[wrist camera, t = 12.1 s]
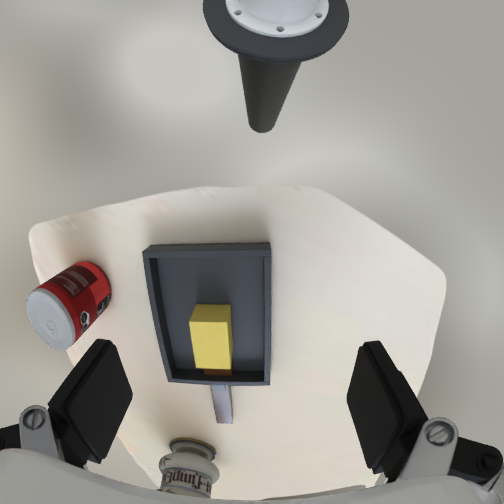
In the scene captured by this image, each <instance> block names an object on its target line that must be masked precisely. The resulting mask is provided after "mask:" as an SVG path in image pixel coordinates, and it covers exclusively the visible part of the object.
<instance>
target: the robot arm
mask: <svg viewBox="0 0 504 504" xmlns="http://www.w3.org/2000/svg"><path fill="white" fill-rule="evenodd" d="M226 6H227V10H228V12H229V14H230V16H231V17H232V18H233V19H234V20H235V21H236V22H237V23H238V24H239V25H241V26H242V27H244V28H246V29H248V30H250V31H252V32H254V33H258V34H261V35H265V36H270V37H282V38H283V37H294V36H299V35H303V34H306V33H309V32H311V31H313V30H314V29H316V28H317V27H318V26H320V25H321V24H322V23H323V21H324V19H325V18H326V15H327V13H328V8H329V3H328V0H226ZM279 31H281V32H279ZM132 397H133V393H132V389H131V387H130V384H129V382H128V379H127V377H126V374H125V371H124V368H123V366H122V363H121V360H120V357H119V354H118V351H117V348H116V346H115V345H114V344H113V343H112V342H111V341H110V340H105V339H96V340H95V342H94V343H93V344H92V345H91V347H90V348H89V349H88V350H87V352H86V353H85V354H84V355H83V357H82V358H81V359H80V361H79V362H78V363H77V365H76V366H75V367H74V368H73V370H72V371H71V372H70V374H69V375H68V376H67V378H66V379H65V380H64V382H63V383H62V385H61V386H60V387H59V389H58V390H57V391H56V393H55V394H54V396H53V397H52V398H51V400H50V401H49V403H48V406H49V408H48V410H47V409H46V408H45V407H43V406H40V405H33V406H30V407H28V408H26V409H25V410H24V411H23V412H22V413H21V416H20V418H19V424H16V425H12V426H8V427H5V428H1V429H0V504H504V463H503V457H502V454H501V453H500V451H499V450H498V449H497V448H495V447H493V446H489V445H485V444H482V443H478V442H475V441H471V440H468V439H465V438H461V437H458V429H457V427H456V425H455V424H454V423H453V422H452V421H450V420H449V419H446V418H442V417H436V418H432V419H428V417H427V416H426V414H425V412H424V410H423V408H422V406H421V405H420V403H419V401H418V399H417V398H416V396H415V394H414V392H413V391H412V389H411V387H410V386H409V384H408V382H407V380H406V379H405V377H404V375H403V374H402V373H401V371H399V370H397V368H396V366H395V365H394V363H393V361H392V360H391V358H390V356H389V355H388V353H387V351H386V350H385V348H384V347H383V345H382V343H381V342H380V341H370V342H365V343H364V344H363V346H360V347H359V350H358V354H357V358H356V363H355V367H354V371H353V374H352V378H351V382H350V386H349V389H348V393H347V404H348V407H349V410H350V413H351V416H352V419H353V422H354V425H355V429H356V432H357V435H358V438H359V441H360V445H361V448H362V451H363V454H364V458H365V461H366V465H367V467H368V468H369V469H371V468H372V470H373V474H378V473H381V472H384V474H385V477H386V481H385V482H384V484H383V485H378V486H374V487H370V488H366V489H361V490H356V491H351V492H346V493H340V494H333V495H327V496H320V497H312V498H303V499H290V500H274V501H273V500H270V501H242V500H221V499H209V498H200V497H192V496H184V495H178V494H172V493H167V492H161V491H156V490H152V489H147V488H142V487H139V486H135V485H131V484H127V483H124V482H120V481H117V480H113V479H110V478H107V477H104V476H101V475H98V474H95V473H92V472H90V471H89V470H88V467H87V465H86V463H87V460H89V461H92V462H95V463H98V464H100V463H101V461H102V459H104V458H105V457H106V456H107V454H108V452H109V449H110V447H111V445H112V442H113V440H114V438H115V436H116V433H117V431H118V429H119V426H120V424H121V422H122V420H123V418H124V415H125V413H126V411H127V409H128V407H129V405H130V402H131V400H132Z"/></svg>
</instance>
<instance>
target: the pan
mask: <svg viewBox="0 0 504 504" xmlns="http://www.w3.org/2000/svg"><path fill="white" fill-rule="evenodd" d="M142 254H143V262H144V269H145V275H146V282H147V288H148V293H149V299H150V305H151V310H152V315H153V320H154V325H155V330H156V334H157V339H158V343H159V348H160V352H161V356H162V360H163V364H164V368H165V372H166V376H167V379H168V382H176V383H188V384H204V385H231V386H263V385H270V358H271V246H270V242H261V243H210V244H168V245H150V246H149V247H148V248H147V249H145V250H144V251H143V252H142ZM196 304H208V305H230V306H231V323H232V339H233V354H232V368H233V372H232V376H230V375H205V374H204V368H196V364H195V358H194V352H193V345H192V339H191V332H190V325H189V320H190V318H191V316H192V313H193V311H194V309H195V306H196Z"/></svg>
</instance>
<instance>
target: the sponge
mask: <svg viewBox="0 0 504 504" xmlns="http://www.w3.org/2000/svg"><path fill="white" fill-rule="evenodd" d="M189 325H190V332H191V339H192V345H193V352H194V358H195V364H196V368H209V369H231V363H232V354H233V339H232V323H231V306H230V305H208V304H196V306H195V309H194V311H193V313H192V316H191V318H190V320H189Z"/></svg>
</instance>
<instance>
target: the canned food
mask: <svg viewBox="0 0 504 504" xmlns="http://www.w3.org/2000/svg"><path fill="white" fill-rule="evenodd" d="M110 299H111V287H110V283H109V281H108V279H107V277H106V275H105V274H104V272H103V271H102V270H101V269H100V268H99V267H98V266H97V265H95V264H93V263H91V262H77V263H76V264H74V265H72V266H71V267H69V268H67V269H66V270H64V271H62V272H61V273H59V274H57V275H56V276H54V277H53V278H51V279H50V280H48V281H46V282H45V283H43V284H42V285H40V286H39V287H37V288H36V289H35V290H33V291H32V292H31V293H30V294H29V296H28V298H27V305H26V306H27V313H28V317H29V320H30V322H31V324H32V326H33V328H34V330H35V331H36V333H37V334H38V335H39V337H40V338H41V339H42V340H43V341H44V342H45V343H46V344H48V345H49V346H50V347H52V348H54V349H57V350H67V349H68V348H69V347H71V346H72V345H73V344H74V343H75V342H76V341H77V340H78V339H79V338H80V336H81V335H82V334H83V333H84V332H85V331H86V330H87V329H88V328H89V327H90V326H91V324H92V323H93V322H94V321H95V320H96V319H97V318H98V317H99V316H100V315H101V314H102V313H103V312H104V311H105V310H106V308H107V307H108V305H109V302H110Z"/></svg>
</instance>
